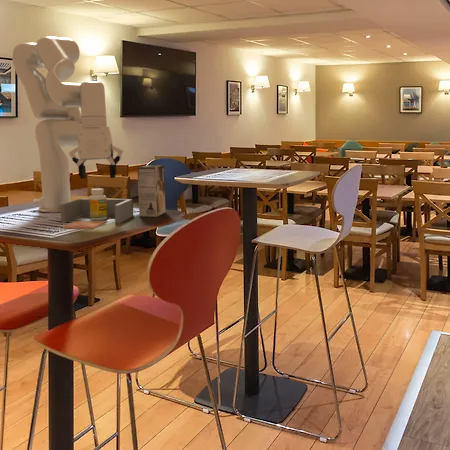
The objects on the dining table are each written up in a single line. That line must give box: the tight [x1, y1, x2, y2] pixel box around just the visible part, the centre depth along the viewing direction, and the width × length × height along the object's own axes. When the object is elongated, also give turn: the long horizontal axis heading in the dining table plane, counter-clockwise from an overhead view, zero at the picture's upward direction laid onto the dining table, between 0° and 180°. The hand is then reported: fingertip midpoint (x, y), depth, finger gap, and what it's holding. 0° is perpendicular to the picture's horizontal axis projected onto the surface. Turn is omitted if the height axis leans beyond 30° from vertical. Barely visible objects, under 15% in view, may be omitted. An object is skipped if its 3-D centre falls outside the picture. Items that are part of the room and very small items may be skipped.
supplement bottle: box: [88, 188, 108, 221], centre depth 185 cm, size 5×5×10 cm
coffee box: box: [137, 164, 167, 218], centre depth 193 cm, size 9×6×16 cm
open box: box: [59, 198, 134, 224], centre depth 185 cm, size 18×15×6 cm
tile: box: [63, 220, 105, 229], centre depth 173 cm, size 9×9×1 cm
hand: (97, 178), depth 183 cm, fingers open, 9 cm apart
